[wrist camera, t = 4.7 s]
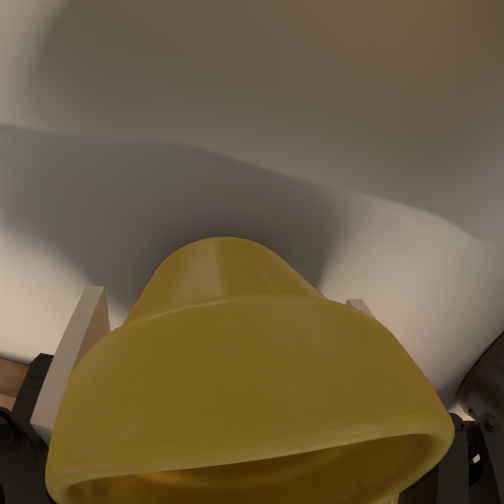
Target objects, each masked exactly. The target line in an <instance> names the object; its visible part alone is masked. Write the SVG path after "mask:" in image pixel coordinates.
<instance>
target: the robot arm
mask: <svg viewBox="0 0 504 504" xmlns="http://www.w3.org/2000/svg"><path fill="white" fill-rule="evenodd" d="M346 305H348V306H351V307H353V308H355V309H358V310H360V311H362V312H364V313H366V314H367V315H369V316H371V317H373V318H374V316H373V315H372V313H371V312H370V310H369V309H368V307H367V306H366V305H365V303H364V302H363V300H361V299H348V300H347V303H346ZM374 319H375V318H374ZM110 332H111V329H110V323H109V317H108V310H107V302H106V295H105V287H104V286H93V285H87V287H86V289H85V291H84V293H83V295H82V297H81V299H80V301H79V303H78V305H77V307H76V309H75V311H74V313H73V315H72V317H71V319H70V321H69V324H68V326H67V328H66V330H65V332H64V335H63V337H62V339H61V341H60V344H59V346H58V348H57V351H56V353H55V355H48V354H43V353H40V354H39V355H38V356H37V357H36V358H35V359H34V360H33V361H32V362H31V364H30V367H29V369H28V371H27V373H26V376H25V378H24V380H23V385H21V388H20V390H19V393H18V395H17V398H16V400H15V403H14V405H13V408H12V411H10V410H9V409H7V408H5V407H2V406H0V504H57V503H56V502H55V501H54V500H53V499H52V498H51V496H50V494H49V492H48V490H47V487H46V482H45V471H46V463H47V457H48V451H49V446H50V441H51V436H52V432H53V428H54V424H55V420H56V416H57V413H58V410H59V407H60V403H61V400H62V397H63V395H64V392H65V389H66V387H67V384H68V382H69V379H70V377H71V375H72V373H73V371H74V369H75V367H76V366H77V364H78V363H79V361H80V360H81V359H82V357H83V356H84V355H85V354H86V353H87V351H88V350H89V349H90V348H91V347H92V346H93V345H94V344H95V343H97V342H98V341H99V340H101V339H102V338H103V337H105V336H106V335H107V334H109V333H110ZM457 402H458V403H459V405H460V406H461V408H462V409H463V411H464V412H465V413H466V414H467V415H469V416H471V417H472V418H473V419H474V420H476V421H463V420H462V418H461V417H459V416H458V415H457V414H454V413H449V415H450V417H451V419H452V421H453V424H454V427H455V436H454V439H453V442H452V444H451V446H450V448H449V449H448V451H447V453H446V454H445V455H444V456H443V458H442V459H441V460H440V461H439V462H438V463H437V464H436V465H435V466H434V467H433V468H432V469H431V470H430V471H429V472H427V473H426V474H425V475H424V476H423V477H421V478H420V479H419V480H418V481H416V482H415V483H414V484H412V485H411V486H409V487H408V488H406V489H405V490H403V491H402V492H400V493H399V497H398V503H397V504H504V334H503V335H502V336H501V337H500V338H499V339H498V340H497V341H496V342H495V343H494V344H493V345H492V347H491V348H490V349H489V350H488V351H487V352H486V353H485V354H484V356H483V357H482V358H481V359H480V360H479V362H478V363H477V364H476V365H475V367H474V368H473V369H472V370H471V372H470V373H469V375H468V376H467V377H466V379H465V380H464V382H463V384H462V385H461V387H460V389H459V391H458V394H457ZM478 454H479V456H480V460H479V461H478V462H476V463H475V462H474V461H473V458H474V457H475V456H477V455H478Z"/></svg>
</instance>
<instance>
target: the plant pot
mask: <svg viewBox="0 0 504 504" xmlns="http://www.w3.org/2000/svg"><path fill="white" fill-rule="evenodd" d="M454 436H455V427H454V424H453V421H452V419H451V417H450V415H449V413H448V412H447V410H446V408H445V407H444V405H443V403H442V402H441V400H440V399H439V397H438V395H437V394H436V392H435V391H434V389H433V388H432V386H431V384H430V383H429V381H428V380H427V379H426V377H425V376H424V374H423V373H422V371H421V370H420V368H419V367H418V366H417V364H416V363H415V362H414V360H413V359H412V358H411V357H410V355H409V354H408V353H407V351H406V350H405V349H404V348H403V346H402V345H401V344H400V343H399V342H398V340H397V339H396V338H395V337H394V335H393V334H392V333H391V332H390V331H389V330H388V329H387V328H386V327H385V326H384V325H382V324H381V323H380V322H378V321H377V320H376V319H374V318H373V317H371V316H369V315H367V314H366V313H364V312H362V311H360V310H358V309H355V308H353V307H351V306H348V305H345V304H342V303H338V302H335V301H331V300H328V299H327V298H325V297H324V296H323V295H322V294H321V293H320V292H319V291H318V290H316V289H315V288H314V287H313V286H312V285H311V284H310V283H309V282H307V281H306V280H305V279H304V278H303V277H302V276H301V275H300V274H299V273H297V272H296V271H295V270H294V269H293V268H292V267H291V266H290V265H289V264H288V263H287V262H286V261H284V260H283V259H282V258H281V257H280V256H278V255H277V254H276V253H275V252H273V251H272V250H270V249H269V248H267V247H265V246H263V245H261V244H259V243H257V242H254V241H251V240H247V239H243V238H237V237H227V236H226V237H211V238H205V239H201V240H198V241H195V242H192V243H190V244H187V245H185V246H183V247H181V248H180V249H178V250H176V251H175V252H173V253H172V254H171V255H170V256H168V257H167V258H166V259H165V260H164V261H163V262H162V263H161V264H160V266H159V267H158V268H157V270H156V271H155V273H154V274H153V276H152V277H151V279H150V281H149V282H148V284H147V286H146V287H145V289H144V290H143V292H142V294H141V295H140V297H139V299H138V300H137V302H136V303H135V305H134V306H133V308H132V310H131V311H130V313H129V315H128V316H127V318H126V320H125V321H124V323H123V325H122V326H120V327H118V328H117V329H115V330H114V331H112V332H110V333H109V334H107V335H106V336H105V337H103V338H102V339H101V340H99V341H98V342H97V343H95V344H94V345H93V346H92V347H91V348H90V349H89V350H88V351H87V353H86V354H85V355H84V356H83V357H82V359H81V360H80V361H79V363H78V364H77V366H76V367H75V369H74V371H73V373H72V375H71V377H70V379H69V382H68V384H67V387H66V389H65V392H64V395H63V397H62V400H61V403H60V407H59V410H58V413H57V416H56V420H55V424H54V428H53V432H52V436H51V441H50V446H49V451H48V457H47V463H46V471H45V482H46V487H47V490H48V492H49V494H50V496H51V498H52V499H53V500H54V501H55V502H56V503H57V504H381V503H383V502H385V501H386V500H388V499H390V498H392V497H394V496H395V495H397V494H399V493H400V492H402V491H403V490H405V489H406V488H408V487H409V486H411V485H412V484H414V483H415V482H416V481H418V480H419V479H420V478H421V477H423V476H424V475H425V474H426V473H427V472H429V471H430V470H431V469H432V468H433V467H434V466H435V465H436V464H437V463H438V462H439V461H440V460H441V459H442V458H443V456H444V455H445V454H446V453H447V451H448V449H449V448H450V446H451V444H452V442H453V439H454Z"/></svg>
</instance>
